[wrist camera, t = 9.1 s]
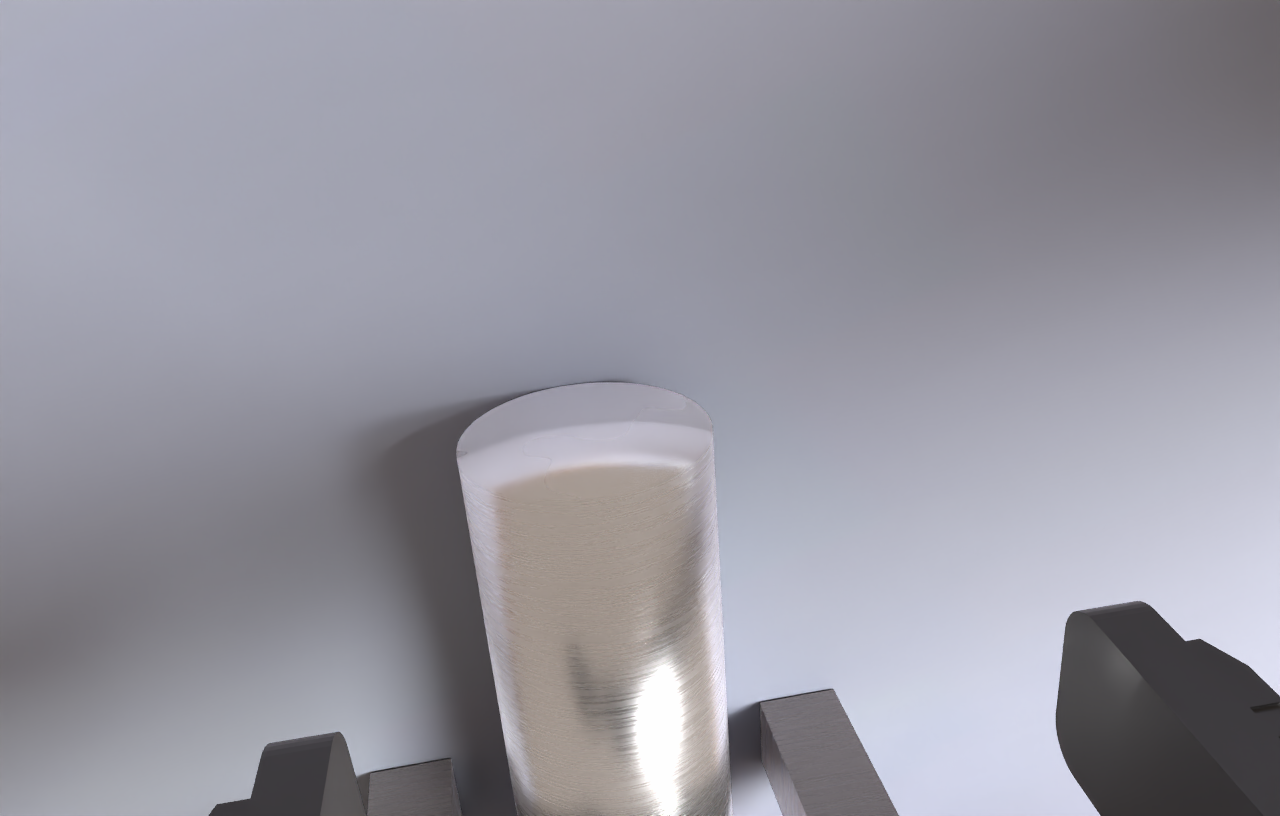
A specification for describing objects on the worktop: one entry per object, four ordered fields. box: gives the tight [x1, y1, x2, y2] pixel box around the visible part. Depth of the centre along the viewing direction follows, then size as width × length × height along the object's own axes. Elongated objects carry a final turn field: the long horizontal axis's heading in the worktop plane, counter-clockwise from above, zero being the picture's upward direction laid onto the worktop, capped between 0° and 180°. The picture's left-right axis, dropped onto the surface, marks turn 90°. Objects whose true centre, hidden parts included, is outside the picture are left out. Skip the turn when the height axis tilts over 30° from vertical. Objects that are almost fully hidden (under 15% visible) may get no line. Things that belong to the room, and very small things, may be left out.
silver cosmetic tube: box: [456, 382, 733, 816], centre depth 20 cm, size 16×4×4 cm, turn 5°
